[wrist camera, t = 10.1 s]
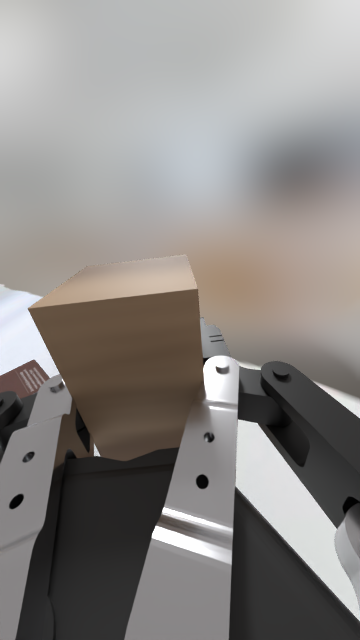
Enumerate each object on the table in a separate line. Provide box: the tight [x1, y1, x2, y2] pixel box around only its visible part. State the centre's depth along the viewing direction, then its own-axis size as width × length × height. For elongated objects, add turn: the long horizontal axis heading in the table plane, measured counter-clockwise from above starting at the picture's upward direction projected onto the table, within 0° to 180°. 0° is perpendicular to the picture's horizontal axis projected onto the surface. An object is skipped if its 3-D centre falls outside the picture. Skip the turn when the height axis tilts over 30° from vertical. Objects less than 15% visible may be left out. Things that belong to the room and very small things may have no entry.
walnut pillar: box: [28, 255, 204, 461], centre depth 10 cm, size 4×4×11 cm
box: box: [0, 360, 50, 399], centre depth 20 cm, size 6×6×7 cm
